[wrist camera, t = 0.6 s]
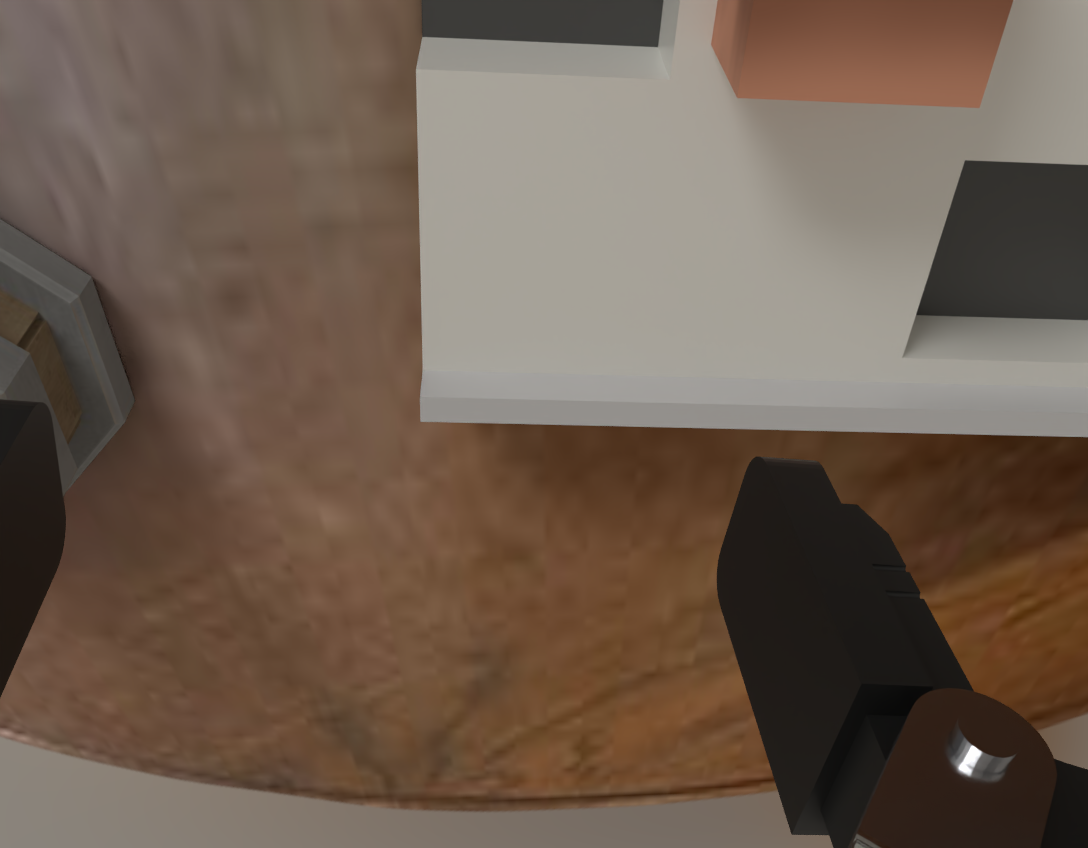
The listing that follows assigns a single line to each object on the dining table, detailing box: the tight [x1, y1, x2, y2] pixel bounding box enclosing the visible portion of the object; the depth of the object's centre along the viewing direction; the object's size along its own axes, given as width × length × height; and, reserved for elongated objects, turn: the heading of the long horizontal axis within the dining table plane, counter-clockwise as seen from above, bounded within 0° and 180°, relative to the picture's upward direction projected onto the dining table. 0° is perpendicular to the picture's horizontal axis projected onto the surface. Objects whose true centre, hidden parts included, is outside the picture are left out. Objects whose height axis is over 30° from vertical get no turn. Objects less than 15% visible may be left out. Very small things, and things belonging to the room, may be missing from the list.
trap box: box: [416, 0, 1088, 437], centre depth 29 cm, size 22×34×6 cm, turn 87°
